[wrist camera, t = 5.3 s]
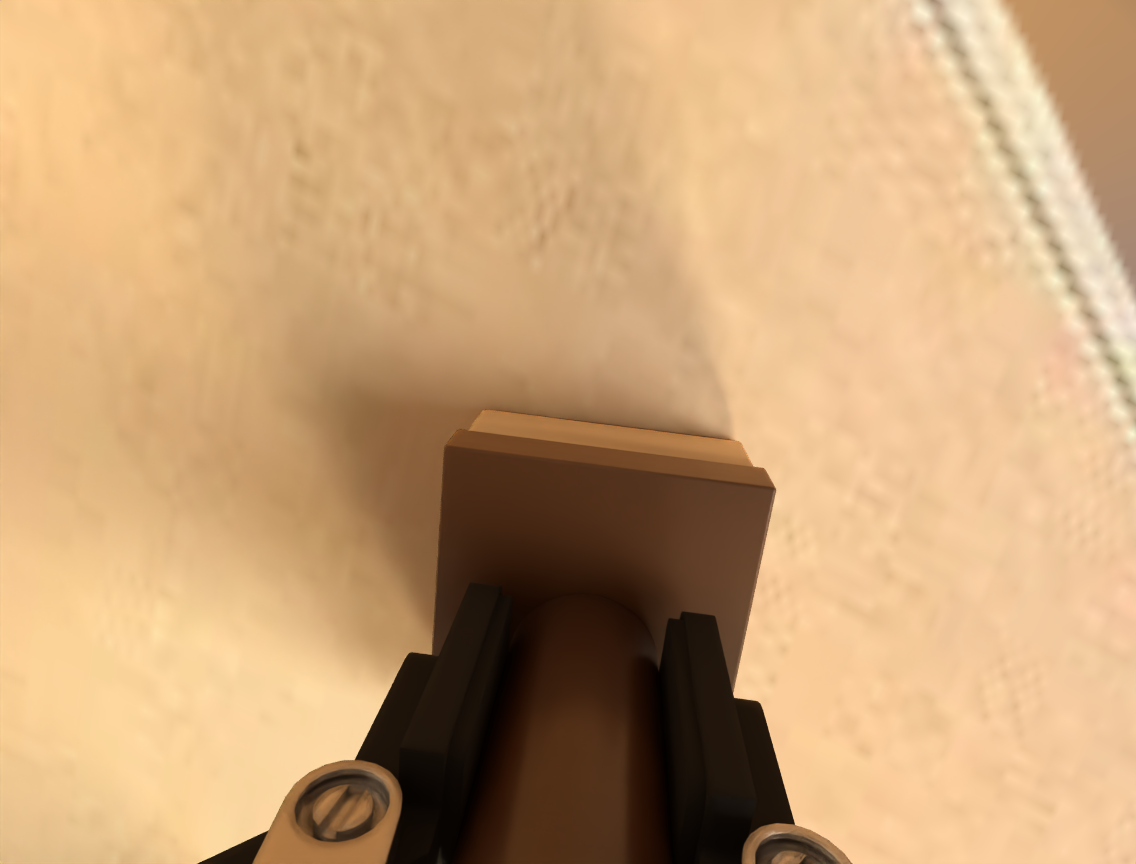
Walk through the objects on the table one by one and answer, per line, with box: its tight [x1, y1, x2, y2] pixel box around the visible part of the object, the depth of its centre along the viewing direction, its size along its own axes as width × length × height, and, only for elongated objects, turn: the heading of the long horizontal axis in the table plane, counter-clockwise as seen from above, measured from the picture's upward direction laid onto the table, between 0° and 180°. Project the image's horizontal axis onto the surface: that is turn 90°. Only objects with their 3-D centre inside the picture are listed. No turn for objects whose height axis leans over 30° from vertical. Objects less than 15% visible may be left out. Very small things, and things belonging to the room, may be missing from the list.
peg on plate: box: [432, 410, 776, 864], centre depth 11 cm, size 7×5×9 cm
